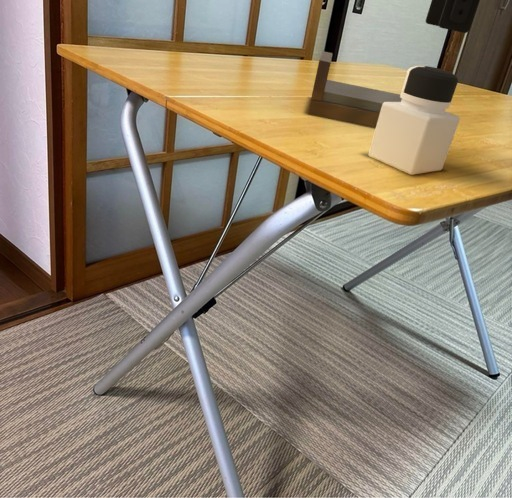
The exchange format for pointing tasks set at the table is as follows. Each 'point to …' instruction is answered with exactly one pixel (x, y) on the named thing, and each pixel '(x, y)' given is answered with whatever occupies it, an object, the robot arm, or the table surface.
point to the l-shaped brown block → (346, 98)
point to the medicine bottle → (417, 123)
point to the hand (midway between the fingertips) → (444, 27)
